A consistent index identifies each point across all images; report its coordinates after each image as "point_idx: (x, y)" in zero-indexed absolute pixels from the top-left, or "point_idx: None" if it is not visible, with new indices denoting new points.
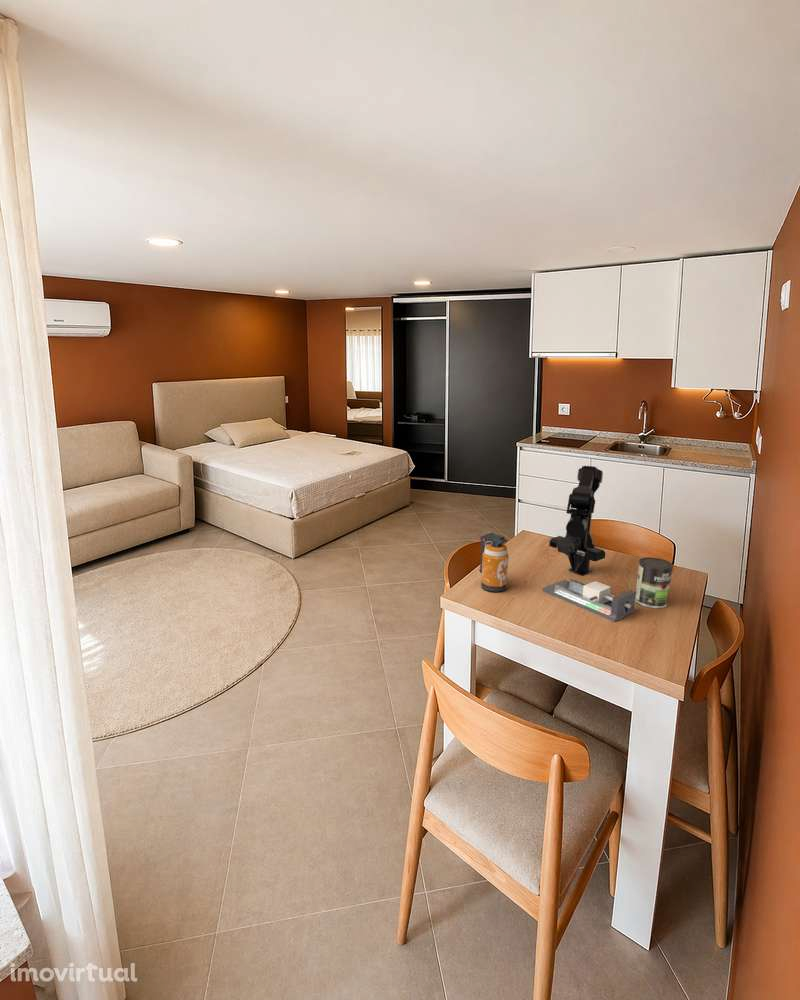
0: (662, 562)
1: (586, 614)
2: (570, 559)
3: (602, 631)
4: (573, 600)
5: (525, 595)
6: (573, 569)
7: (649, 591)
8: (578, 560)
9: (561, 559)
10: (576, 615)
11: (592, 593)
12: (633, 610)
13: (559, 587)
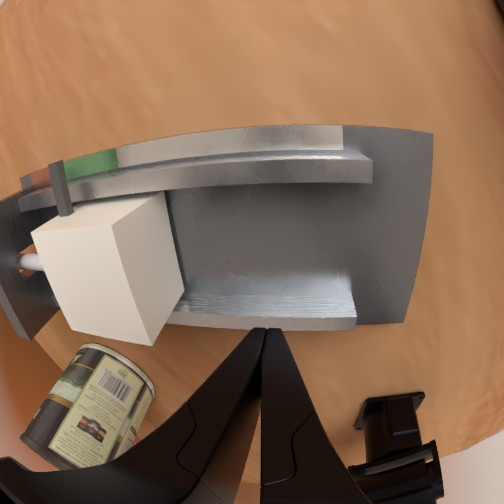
0: None
1: (89, 115)
2: (295, 459)
3: (12, 89)
4: (181, 135)
5: (427, 14)
6: (258, 344)
7: (62, 379)
8: (126, 458)
9: (460, 412)
10: (103, 64)
11: (75, 217)
12: None
13: (328, 158)
